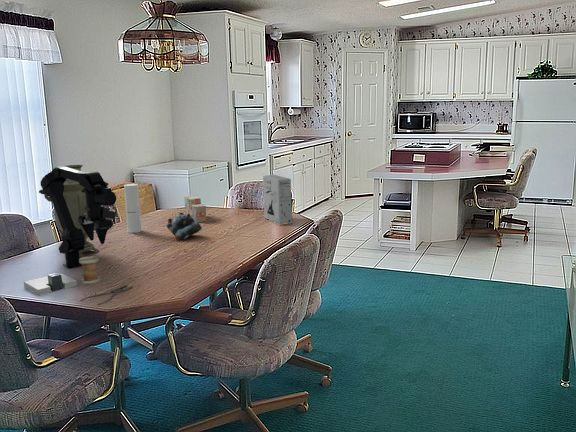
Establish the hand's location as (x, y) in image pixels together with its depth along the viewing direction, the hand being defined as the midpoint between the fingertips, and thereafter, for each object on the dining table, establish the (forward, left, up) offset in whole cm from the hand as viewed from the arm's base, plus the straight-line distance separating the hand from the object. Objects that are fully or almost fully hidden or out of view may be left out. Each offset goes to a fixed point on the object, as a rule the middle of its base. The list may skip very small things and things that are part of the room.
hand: (97, 242), depth 228 cm
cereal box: (-16, +114, -12) cm, 116 cm away
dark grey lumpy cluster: (-23, +56, -12) cm, 62 cm away
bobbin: (+11, -9, -12) cm, 19 cm away
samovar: (-32, +7, -12) cm, 35 cm away
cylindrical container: (-56, +47, -12) cm, 74 cm away
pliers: (+30, -12, -13) cm, 35 cm away
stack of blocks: (-58, +88, -12) cm, 106 cm away
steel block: (+10, -22, -12) cm, 27 cm away
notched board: (+5, -22, -12) cm, 26 cm away
